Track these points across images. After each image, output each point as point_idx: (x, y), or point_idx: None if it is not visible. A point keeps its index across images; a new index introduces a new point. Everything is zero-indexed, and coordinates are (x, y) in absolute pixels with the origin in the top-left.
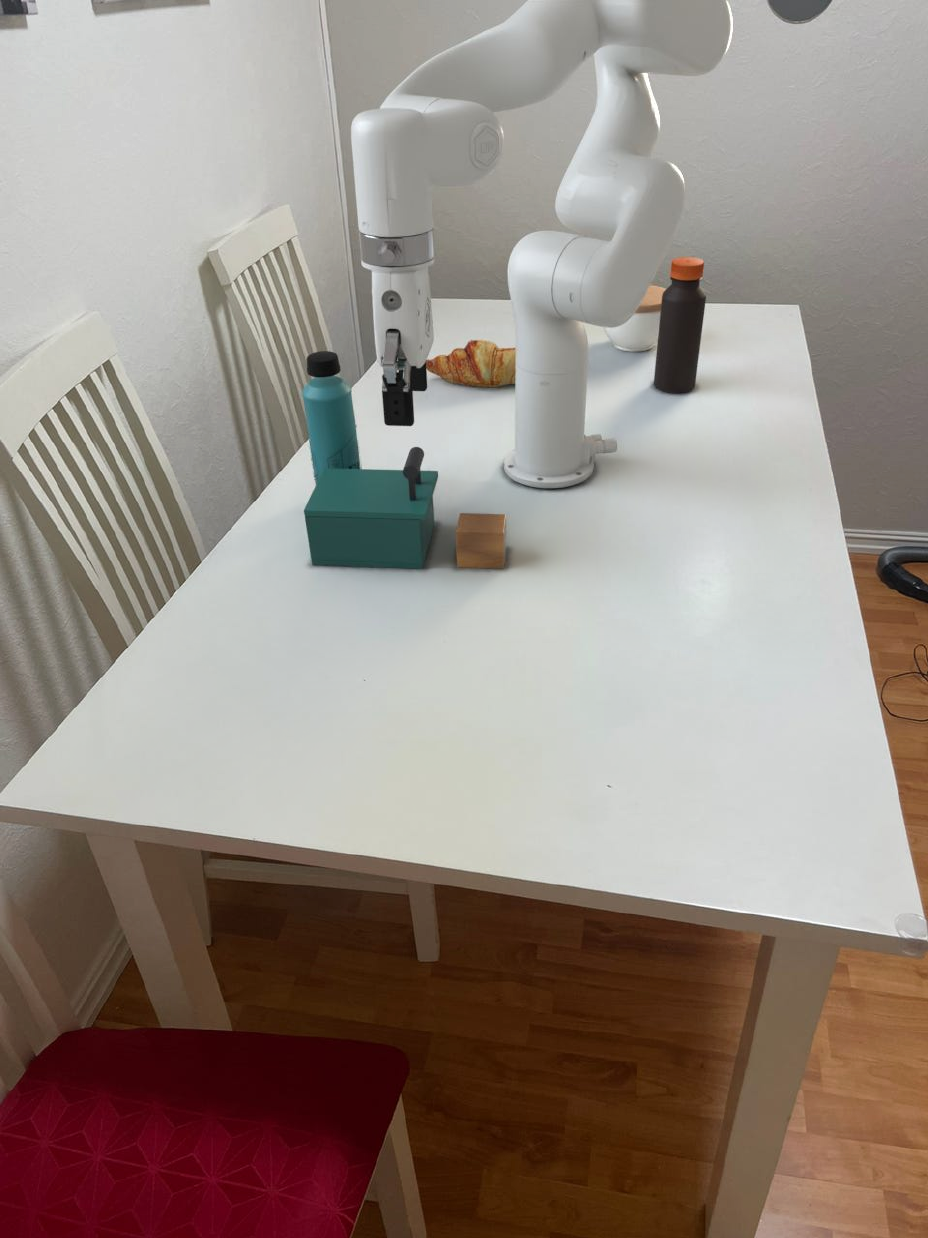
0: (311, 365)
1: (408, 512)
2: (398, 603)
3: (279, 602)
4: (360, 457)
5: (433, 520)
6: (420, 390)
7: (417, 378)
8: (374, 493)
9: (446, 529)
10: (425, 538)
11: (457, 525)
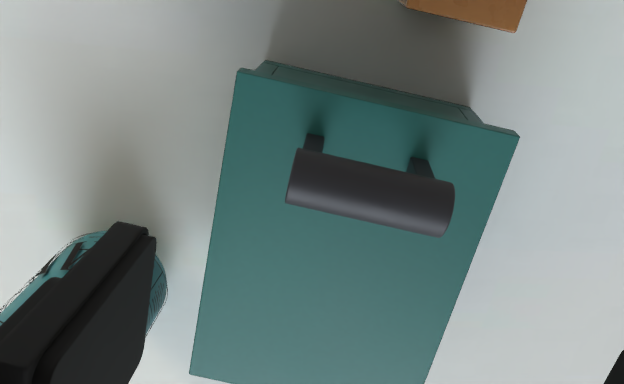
0: None
1: (497, 186)
2: (593, 170)
3: (511, 375)
4: (63, 265)
5: (276, 65)
6: (153, 259)
7: (119, 317)
8: (357, 267)
9: (295, 30)
10: (413, 103)
11: (481, 23)
